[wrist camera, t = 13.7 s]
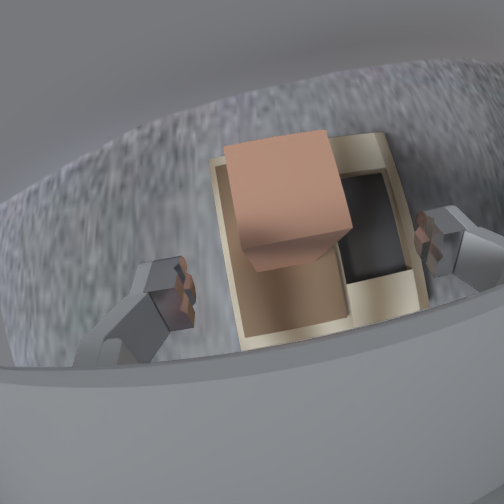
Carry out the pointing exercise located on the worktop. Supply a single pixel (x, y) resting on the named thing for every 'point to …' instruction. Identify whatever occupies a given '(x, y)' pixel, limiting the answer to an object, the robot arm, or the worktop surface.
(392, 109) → the worktop surface
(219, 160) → the hole board
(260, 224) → the terracotta block
